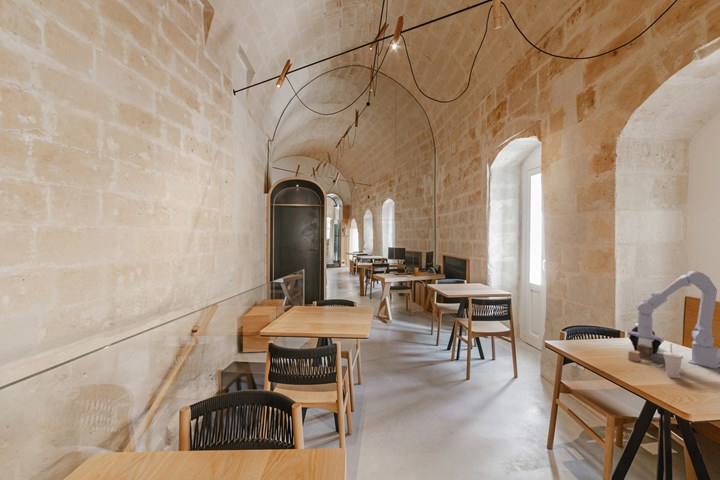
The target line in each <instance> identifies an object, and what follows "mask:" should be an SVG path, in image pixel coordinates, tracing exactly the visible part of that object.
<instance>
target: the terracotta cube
mask: <svg viewBox="0 0 720 480" xmlns="http://www.w3.org/2000/svg"><path fill="white" fill-rule="evenodd" d="M627 357H628V360H629V361H634V362H639V363H640V361H641V356H640V352H639V351H635V350H634V349H629V350H628V356H627Z"/></svg>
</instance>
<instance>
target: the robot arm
mask: <svg viewBox="0 0 720 480" xmlns="http://www.w3.org/2000/svg"><path fill="white" fill-rule="evenodd" d="M691 284H692V285H694V286H695V287H696V288H698V289H699V290H700V291H701V293H700V294H701V295H700V302H699V307H698V315H697V321H696V324H695V326H694V329H693V330H692V331H691V335H690V336H691V338H692V339H693V341H691V360H689V361H688V363H690V364H693V365H698V366H702V367H706V368H711V369H714V370H715V369H718V368H720V348H718V347H716V346H714V344H715V339H714V336H713V327H712V325H713V319H714V314H715V307H716V300H717V294H718V289H717V288H716V286H715V284H714V283H713V282H712V280H711V278H710V277H709V275H707V274H705V273H704V272H701V271H698V270H689V271H687V272H686V273H685V274H684V273H683V274H682V275H681V276H679V277H678V278H676V279H675V280H674V281H673V282H671V283H670V284H669V285H668V286H666V287H665V288H664V289H663V290H661V291H655V292H651V294H650V296H648V297H647V298H646V299H643V300H642V301H641V302H639V303H638V304H637V307H636V308H637V311H638V313H637V323H638V332H632V330H631V331H630V330H629V331H627V336H629V337H628V338H629V340H630V341H631V344H632V347H633V351H637V345H638V339H639V337H640V338H645V339H650V340H654V341H652V346H653V354H655V353H658V350H659V347H660V346H661V345H662V343H664V341H665V338H664V337H662V336H657V335H655V336H654V335H652V330H653V313H654V310H655V309H656V310H657V309H658V308H659V307H661V306H662V305H664V304H665V303H666V302H667V301H668V297H669V296H670V295H672V294H673V293H675V292H676V291H678V290H679V289H682V288H684V287H689V286H690V287H691V286H692V285H691Z"/></svg>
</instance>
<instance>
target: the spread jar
mask: <svg viewBox="0 0 720 480" xmlns="http://www.w3.org/2000/svg"><path fill="white" fill-rule="evenodd" d="M634 326H635V327H633V328H632V329H631V331H632V332H638V322H636V323H635V324H634ZM652 335H654V336H656V332H655V331H654V330H653V329H652ZM652 341H654V340H650V339H645V338H640V337H639V339H638V345H639V344H645V345H649V346H652Z"/></svg>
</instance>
